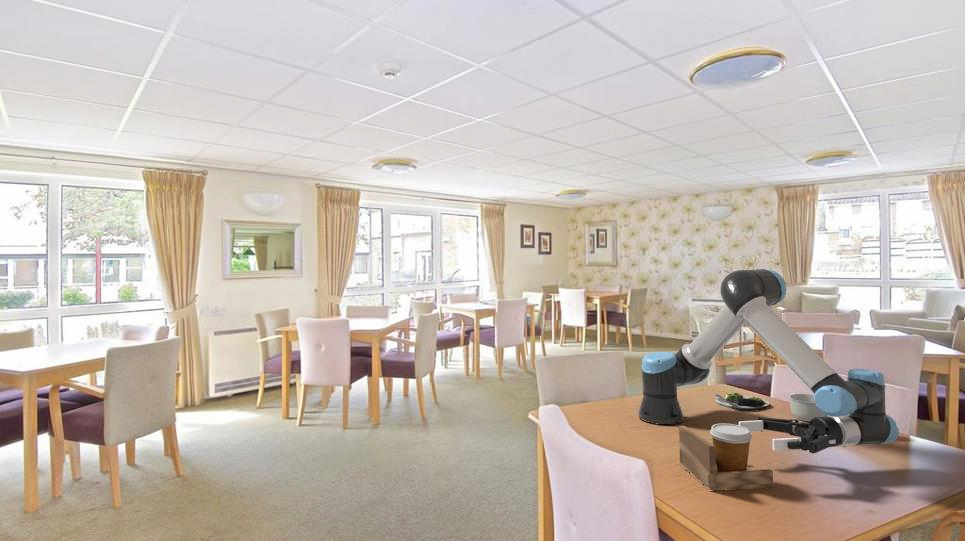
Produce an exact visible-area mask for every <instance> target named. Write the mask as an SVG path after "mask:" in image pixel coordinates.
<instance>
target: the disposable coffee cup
mask: <svg viewBox="0 0 965 541" xmlns="http://www.w3.org/2000/svg"><path fill="white" fill-rule="evenodd" d="M709 433H710V436H711V438H712V439H711V440H712V444H713V445H714V446H715V458H716V464H717V470H718V473H719V472H735V471H747V466H748V462H749V461H748V460H749V452H750V444H751V441H752V438H753V436H752V434H751V432H750V431H749V430H748V429H747V428H745V427H742V426H739V424H733V423H724V422H723V423H715V424H713V425H711V429H709Z"/></svg>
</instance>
